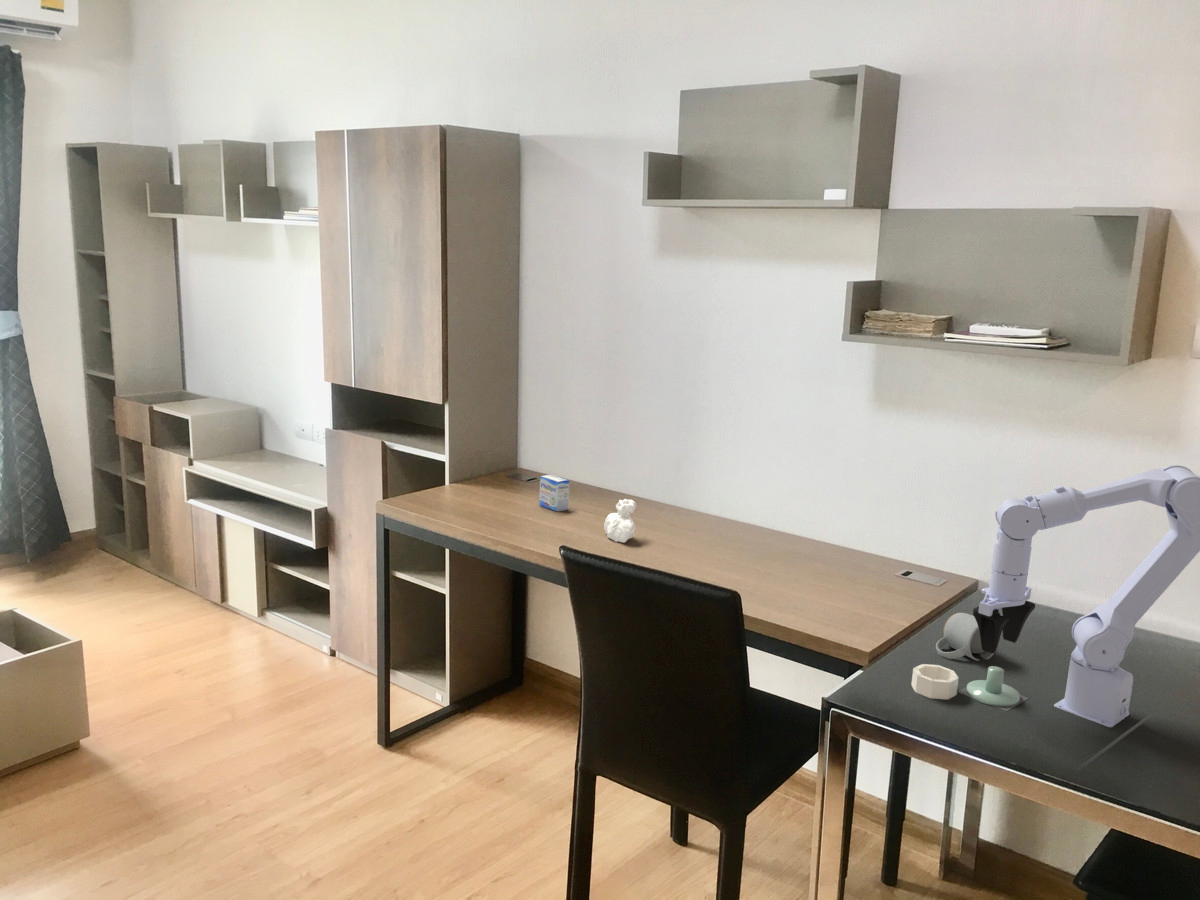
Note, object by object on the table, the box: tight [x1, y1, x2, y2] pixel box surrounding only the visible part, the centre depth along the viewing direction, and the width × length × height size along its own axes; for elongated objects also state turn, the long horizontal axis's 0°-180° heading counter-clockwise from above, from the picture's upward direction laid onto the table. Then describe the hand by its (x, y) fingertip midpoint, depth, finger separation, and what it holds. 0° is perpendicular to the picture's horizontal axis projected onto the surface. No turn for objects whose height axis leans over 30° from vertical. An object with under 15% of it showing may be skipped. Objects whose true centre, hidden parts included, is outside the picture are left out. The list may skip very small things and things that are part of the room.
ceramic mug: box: [935, 612, 1001, 662], centre depth 190 cm, size 11×8×8 cm
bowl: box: [910, 663, 959, 700], centre depth 174 cm, size 7×7×4 cm
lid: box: [966, 665, 1021, 707], centre depth 173 cm, size 9×9×5 cm
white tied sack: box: [603, 498, 637, 544], centre depth 254 cm, size 12×8×11 cm
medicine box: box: [538, 474, 570, 512], centre depth 280 cm, size 8×4×9 cm, turn 43°
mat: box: [957, 686, 1029, 712], centre depth 173 cm, size 9×8×1 cm
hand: (999, 645), depth 171 cm, fingers open, 7 cm apart
